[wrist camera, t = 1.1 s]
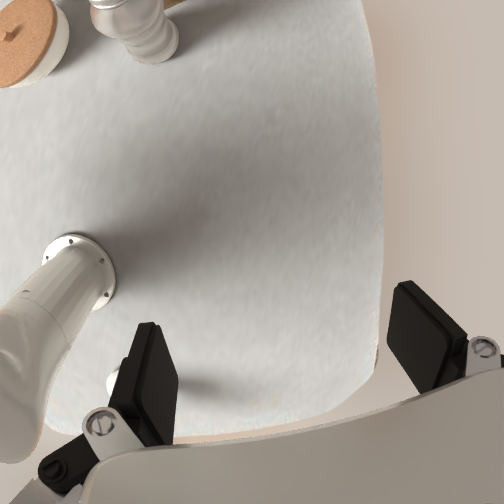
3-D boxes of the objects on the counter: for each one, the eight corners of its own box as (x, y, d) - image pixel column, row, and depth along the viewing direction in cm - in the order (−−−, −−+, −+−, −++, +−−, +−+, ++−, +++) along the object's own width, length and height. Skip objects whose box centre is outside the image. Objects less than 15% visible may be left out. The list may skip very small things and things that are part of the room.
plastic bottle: (159, 14, 29) (116, -63, 11) (192, 44, 31) (170, -28, 13) (121, 47, 30) (49, -6, 12) (154, 77, 33) (96, 35, 14)
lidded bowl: (93, 59, 30) (55, 41, 20) (24, 107, 31) (-23, 108, 21) (72, -4, 25) (38, -30, 15) (7, 45, 26) (-36, 34, 16)
